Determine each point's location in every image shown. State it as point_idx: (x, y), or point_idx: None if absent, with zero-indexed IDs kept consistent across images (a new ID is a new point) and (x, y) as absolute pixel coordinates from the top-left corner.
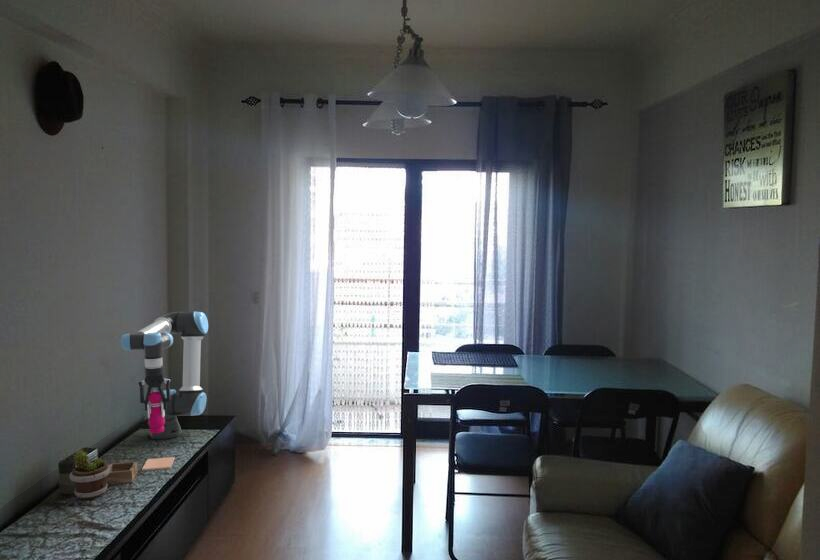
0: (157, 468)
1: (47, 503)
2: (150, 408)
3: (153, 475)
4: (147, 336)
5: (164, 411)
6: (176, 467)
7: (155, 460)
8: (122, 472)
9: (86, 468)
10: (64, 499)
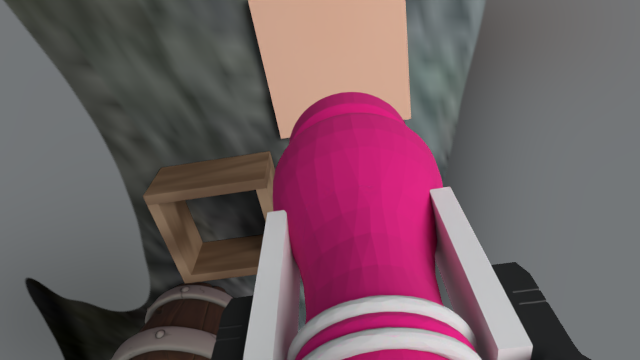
0: None
1: (107, 345)
2: (279, 286)
3: None
4: None
5: (466, 219)
6: (437, 105)
7: (304, 25)
8: (255, 271)
9: None
10: (138, 328)
